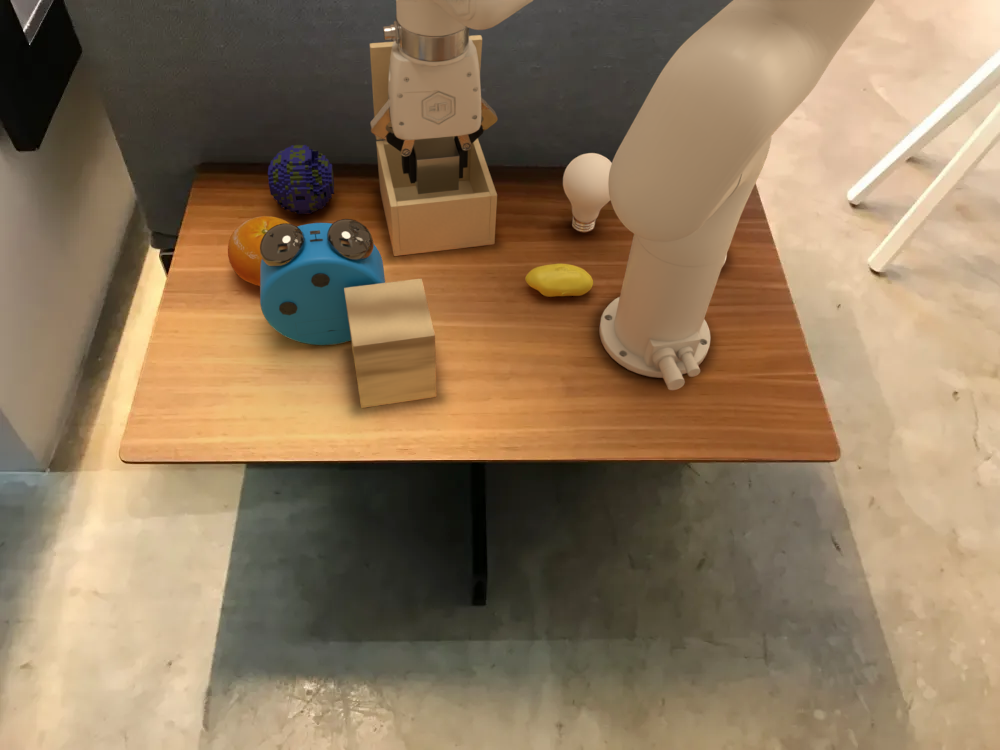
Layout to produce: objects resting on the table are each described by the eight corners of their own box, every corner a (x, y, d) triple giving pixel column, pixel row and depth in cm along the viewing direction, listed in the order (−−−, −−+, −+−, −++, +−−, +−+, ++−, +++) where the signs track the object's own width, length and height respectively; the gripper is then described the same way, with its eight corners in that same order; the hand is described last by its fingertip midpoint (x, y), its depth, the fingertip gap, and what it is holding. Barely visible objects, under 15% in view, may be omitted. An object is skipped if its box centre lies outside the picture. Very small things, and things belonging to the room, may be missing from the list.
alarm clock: (386, 303, 99) (377, 202, 88) (390, 343, 96) (382, 243, 84) (271, 313, 98) (247, 212, 86) (271, 354, 94) (246, 254, 82)
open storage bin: (494, 244, 107) (497, 195, 100) (393, 256, 104) (390, 206, 98) (474, 180, 114) (475, 131, 108) (380, 190, 112) (376, 140, 106)
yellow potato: (590, 307, 101) (595, 283, 98) (523, 300, 101) (525, 276, 98) (591, 281, 103) (595, 258, 100) (525, 275, 103) (528, 251, 100)
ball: (277, 183, 112) (267, 134, 106) (336, 182, 113) (329, 133, 107) (273, 224, 107) (263, 175, 101) (335, 222, 108) (328, 173, 102)
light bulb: (547, 233, 108) (555, 163, 100) (572, 205, 112) (582, 134, 103) (593, 254, 106) (606, 184, 98) (617, 225, 110) (631, 154, 101)
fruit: (317, 274, 97) (278, 212, 93) (251, 309, 97) (210, 250, 94) (317, 253, 104) (281, 195, 101) (256, 286, 105) (218, 230, 101)
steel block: (458, 190, 104) (459, 156, 100) (417, 194, 103) (416, 160, 99) (451, 164, 107) (451, 130, 103) (411, 168, 106) (410, 134, 102)
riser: (436, 397, 91) (435, 335, 83) (361, 408, 90) (352, 346, 82) (423, 341, 96) (421, 278, 88) (352, 351, 95) (343, 287, 87)
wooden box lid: (482, 39, 96) (473, 11, 99) (370, 47, 94) (364, 19, 96) (476, 130, 107) (468, 103, 110) (376, 140, 105) (370, 112, 108)
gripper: (356, 60, 86) (368, 201, 100) (520, 47, 89) (509, 186, 103) (347, 21, 91) (360, 161, 105) (504, 10, 94) (496, 148, 108)
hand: (434, 172), depth 104 cm, fingers closed on steel block, 5 cm apart
